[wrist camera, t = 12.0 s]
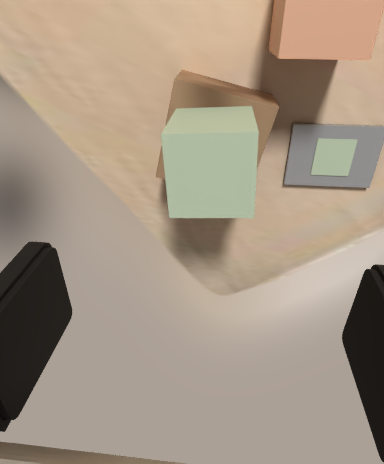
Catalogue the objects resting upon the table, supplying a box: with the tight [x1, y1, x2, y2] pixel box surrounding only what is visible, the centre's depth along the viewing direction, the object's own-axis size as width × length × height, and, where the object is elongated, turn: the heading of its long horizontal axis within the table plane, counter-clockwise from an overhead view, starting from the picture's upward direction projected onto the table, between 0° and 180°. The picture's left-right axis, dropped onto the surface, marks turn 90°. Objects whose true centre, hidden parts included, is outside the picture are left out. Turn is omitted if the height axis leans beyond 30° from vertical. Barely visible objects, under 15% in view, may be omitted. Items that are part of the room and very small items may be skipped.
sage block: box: [161, 106, 259, 218], centre depth 21 cm, size 5×5×6 cm
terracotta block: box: [268, 0, 384, 60], centre depth 20 cm, size 5×5×6 cm
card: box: [284, 123, 384, 188], centre depth 27 cm, size 7×5×1 cm
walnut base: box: [156, 70, 279, 179], centre depth 26 cm, size 7×7×4 cm
